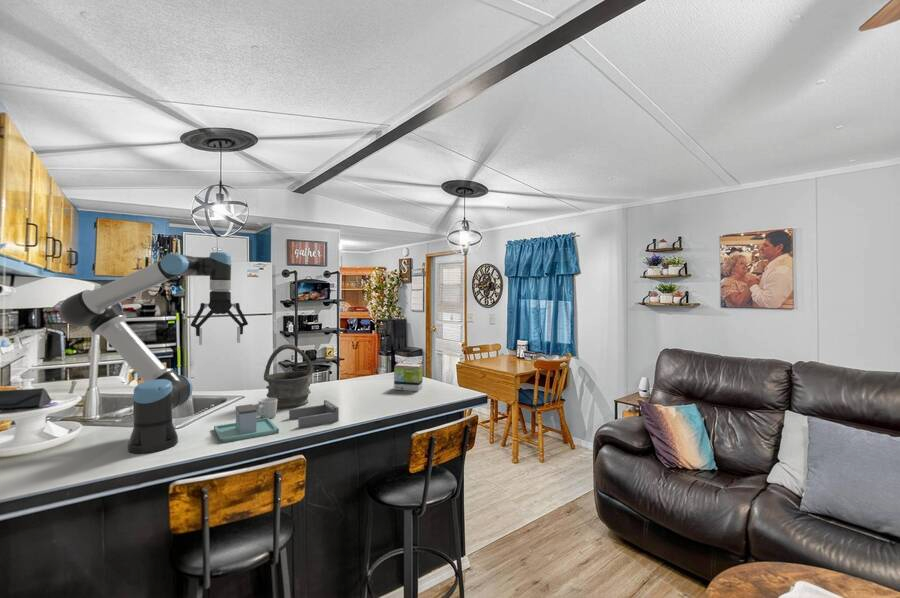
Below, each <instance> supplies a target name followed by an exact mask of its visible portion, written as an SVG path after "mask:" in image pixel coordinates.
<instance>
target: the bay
mask: <svg viewBox="0 0 900 598" xmlns="http://www.w3.org/2000/svg"><path fill="white" fill-rule="evenodd" d="M339 409H340V408H339V407H338V406H337V405H335V404H333V403H332V402H330V400H329V401H328V400H327V399H325V400H323V404H319V405H313V406H307V407H300V408H292V409H289V410H288V419H289V420H295V419H297V424H298V425H297V427H298V429H302V428H303V429H304V428H309V427H314V426H318V425H319V424H320V425H325V424H329V423H330V422H331V423H336V422H335V421H337V422H339V415H340V414H339V412H340V410H339Z"/></svg>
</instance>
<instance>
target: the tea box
mask: <svg viewBox="0 0 900 598" xmlns="http://www.w3.org/2000/svg"><path fill="white" fill-rule="evenodd" d="M423 370H424V364H423V363H412V362H398V363H397V364H395V365H394V368H393V375H394V376H393V390H394V391H409V392H410V391H411V392H419V391H420V390H421V389H423V378H424V376H423V375H424V373H423V372H424V371H423Z"/></svg>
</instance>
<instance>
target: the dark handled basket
mask: <svg viewBox="0 0 900 598" xmlns="http://www.w3.org/2000/svg"><path fill="white" fill-rule="evenodd" d="M285 350H292V351H295V352H296V353H297V354H299V355H300V356H301V357H302V358H303V360H304V361H305V363H306V366H307V370H305V371H302V370H301V371H296V370H295V371H284V372H276V373H272V374H271V373H270V372H271V371H270V369H271V366H272V364H273V361H274V360H275V358H276V357H277V356H278V354H280V353H281V352H283V351H285ZM314 369H315V368H314V365H313V363H312V361H311V360H310V358H309V357H308V355H307V354H306V353H305V352H304V351H303V350H302V349H300V348H299V347H298V346H296V345H295V344H291V343H289V344H288V343H287V344H281V346H278V347H277V348H276V349H275V350H273V352H272V353H271V355H270V356H269V358H268V360H267V363H266V366H265V370H264V373H263V380H264V381H265V382H267V384H268V385H267V386H265V388H266V389H267V393H266V395H265V396H266V398H277V400H278V401H277V409H287V408H288V409H289V408H296V407H301V406H304V405H306V404H308V403H309V399H308V398H309V395H310V394H311V393H312V391H311V389H310V387H311V383H309V382H308V381H309V378H311V376H312V375H313V374H314Z"/></svg>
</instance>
